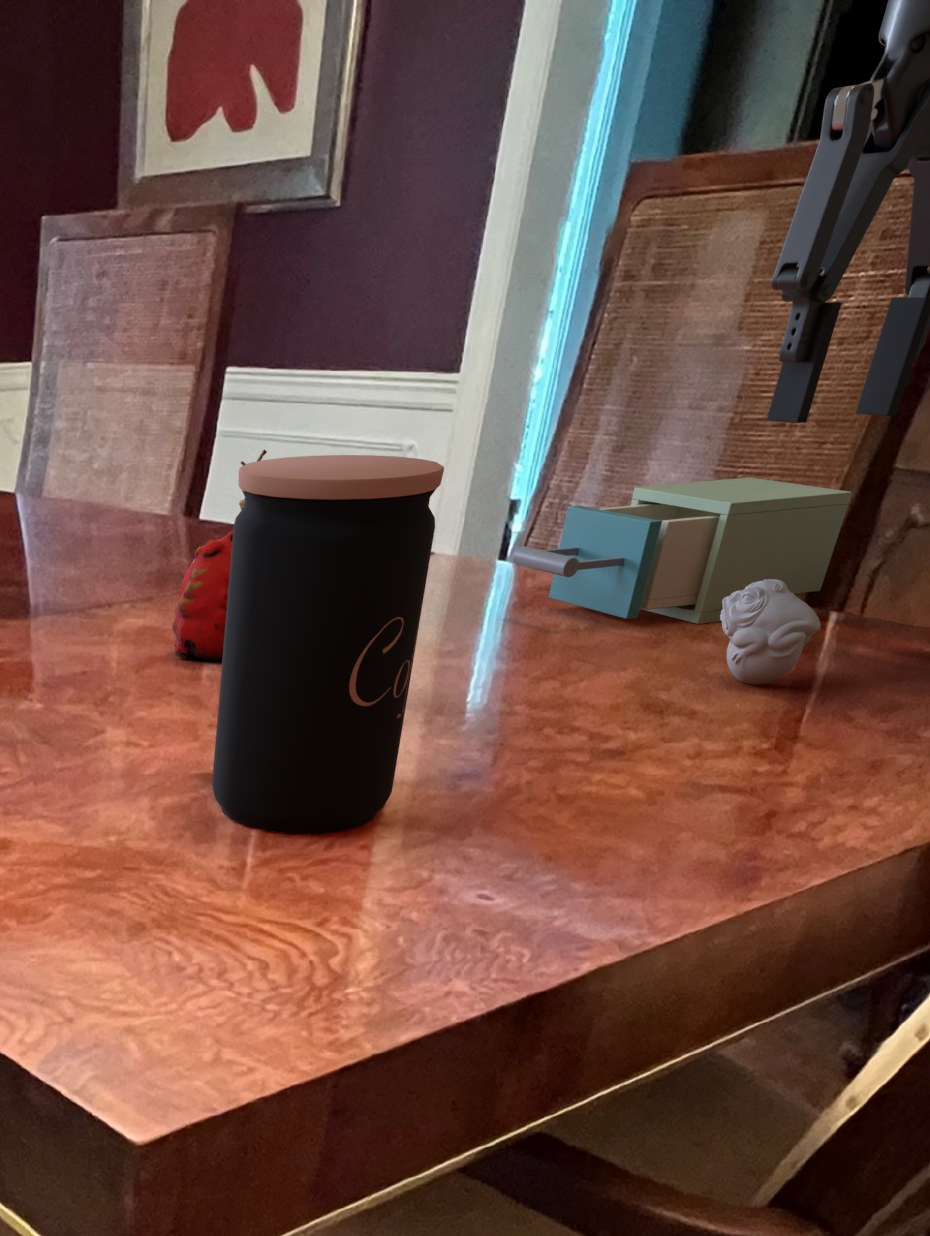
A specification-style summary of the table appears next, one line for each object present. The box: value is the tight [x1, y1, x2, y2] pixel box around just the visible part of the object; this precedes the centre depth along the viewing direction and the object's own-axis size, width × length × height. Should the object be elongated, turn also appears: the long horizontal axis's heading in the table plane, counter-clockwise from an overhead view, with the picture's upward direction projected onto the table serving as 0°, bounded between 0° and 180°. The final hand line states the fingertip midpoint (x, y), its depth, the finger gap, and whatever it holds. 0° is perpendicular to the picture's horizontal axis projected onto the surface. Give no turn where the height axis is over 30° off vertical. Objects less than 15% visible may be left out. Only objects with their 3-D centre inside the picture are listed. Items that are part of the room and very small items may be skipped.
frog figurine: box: [720, 579, 821, 685], centre depth 101 cm, size 6×7×7 cm
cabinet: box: [630, 477, 853, 625], centre depth 123 cm, size 13×12×9 cm
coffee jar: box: [211, 454, 445, 835], centre depth 77 cm, size 11×11×18 cm
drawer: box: [512, 503, 721, 620], centre depth 120 cm, size 18×11×7 cm, turn 108°
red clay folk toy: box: [172, 449, 268, 662], centre depth 111 cm, size 8×7×15 cm
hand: (831, 417), depth 93 cm, fingers open, 7 cm apart
